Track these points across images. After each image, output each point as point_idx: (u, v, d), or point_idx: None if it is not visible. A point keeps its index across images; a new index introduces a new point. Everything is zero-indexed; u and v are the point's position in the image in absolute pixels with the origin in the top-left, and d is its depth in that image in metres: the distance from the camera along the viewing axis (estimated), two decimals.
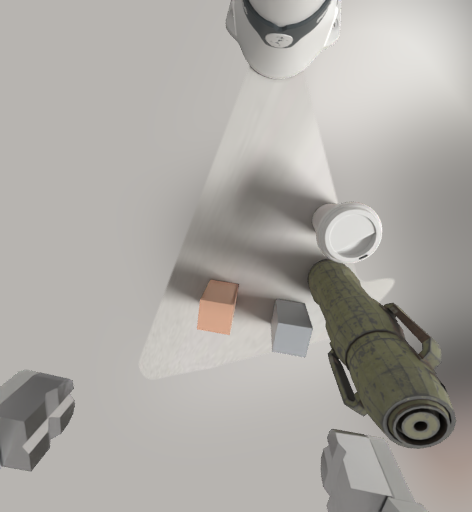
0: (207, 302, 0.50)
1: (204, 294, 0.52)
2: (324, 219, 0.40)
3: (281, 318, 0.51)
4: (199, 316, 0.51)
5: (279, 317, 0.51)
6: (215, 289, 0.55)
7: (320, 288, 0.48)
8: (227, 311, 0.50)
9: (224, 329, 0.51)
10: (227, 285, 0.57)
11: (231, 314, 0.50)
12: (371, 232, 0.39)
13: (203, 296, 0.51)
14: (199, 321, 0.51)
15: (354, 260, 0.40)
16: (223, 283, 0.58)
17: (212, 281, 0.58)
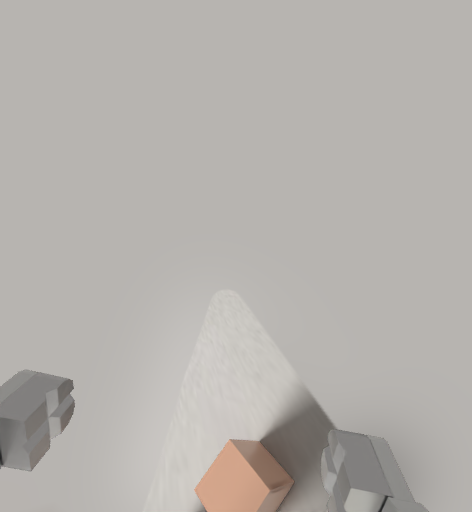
0: (259, 499, 0.27)
1: (275, 490, 0.29)
2: None
3: None
4: (244, 462, 0.30)
5: None
6: (274, 501, 0.31)
7: None
8: None
9: (205, 488, 0.30)
10: None
11: None
12: None
13: (272, 491, 0.28)
14: (237, 454, 0.30)
15: None
16: (278, 505, 0.33)
17: (289, 486, 0.34)
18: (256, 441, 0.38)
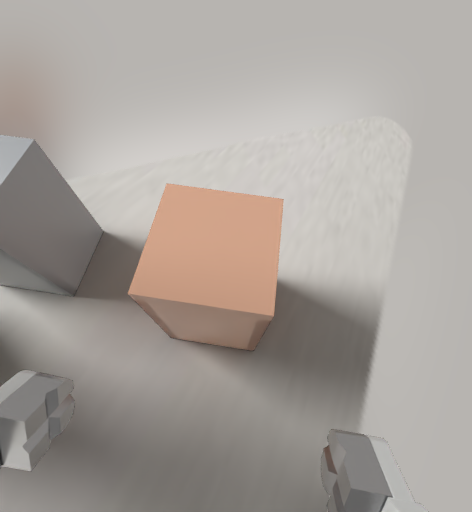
0: (242, 303, 0.12)
1: (260, 327, 0.13)
2: None
3: None
4: (275, 243, 0.13)
5: None
6: (227, 334, 0.16)
7: None
8: (160, 266, 0.12)
9: (182, 200, 0.14)
10: (198, 338, 0.19)
11: (146, 254, 0.13)
12: None
13: (262, 323, 0.13)
14: (275, 225, 0.13)
15: None
16: (213, 341, 0.19)
17: (246, 347, 0.19)
18: None
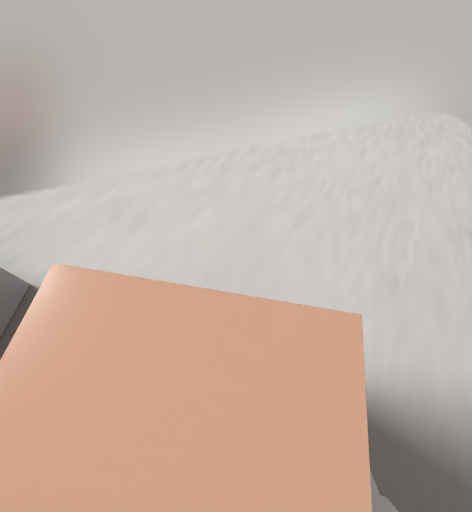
0: None
1: None
2: None
3: None
4: (357, 499, 0.04)
5: None
6: None
7: None
8: None
9: (83, 317, 0.05)
10: None
11: None
12: None
13: None
14: (348, 414, 0.04)
15: None
16: None
17: None
18: None
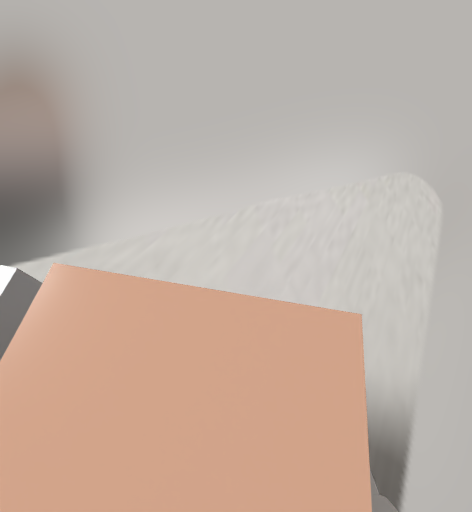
0: None
1: None
2: None
3: None
4: (356, 498, 0.04)
5: None
6: None
7: None
8: None
9: (84, 317, 0.05)
10: None
11: None
12: None
13: None
14: (347, 414, 0.04)
15: None
16: None
17: None
18: None
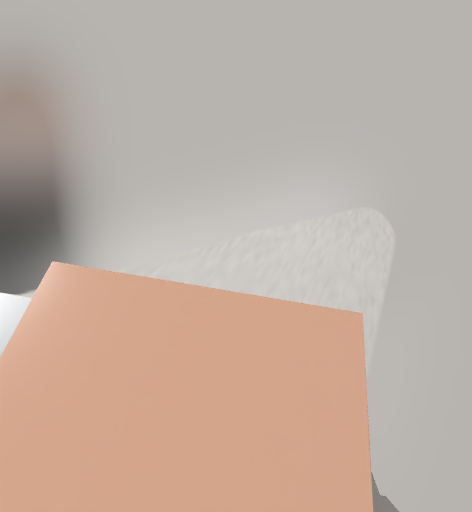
0: None
1: None
2: None
3: None
4: (357, 498, 0.04)
5: None
6: None
7: None
8: None
9: (83, 316, 0.05)
10: None
11: None
12: None
13: None
14: (348, 413, 0.04)
15: None
16: None
17: None
18: None
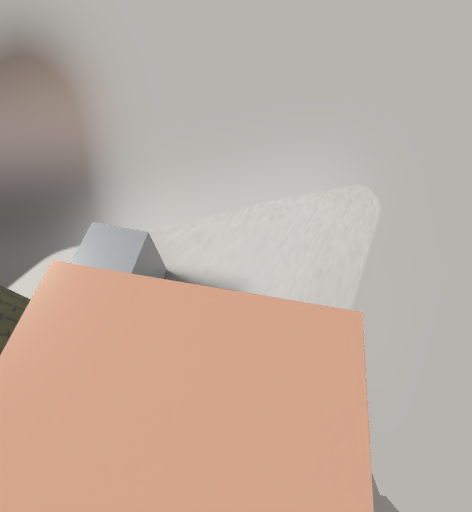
0: None
1: None
2: None
3: None
4: (358, 496, 0.04)
5: None
6: None
7: None
8: None
9: (83, 315, 0.05)
10: None
11: None
12: None
13: None
14: (349, 411, 0.04)
15: None
16: None
17: None
18: None
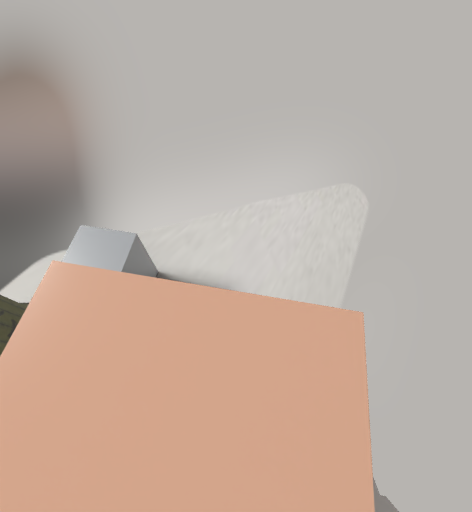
0: None
1: None
2: None
3: None
4: (359, 497, 0.04)
5: None
6: None
7: None
8: None
9: (83, 315, 0.05)
10: None
11: None
12: None
13: None
14: (350, 412, 0.04)
15: None
16: None
17: None
18: None
